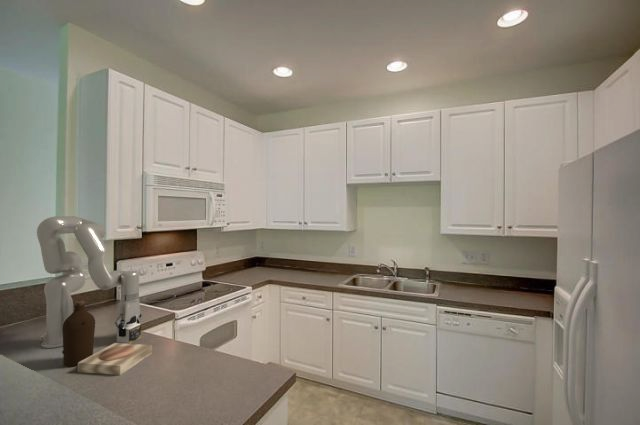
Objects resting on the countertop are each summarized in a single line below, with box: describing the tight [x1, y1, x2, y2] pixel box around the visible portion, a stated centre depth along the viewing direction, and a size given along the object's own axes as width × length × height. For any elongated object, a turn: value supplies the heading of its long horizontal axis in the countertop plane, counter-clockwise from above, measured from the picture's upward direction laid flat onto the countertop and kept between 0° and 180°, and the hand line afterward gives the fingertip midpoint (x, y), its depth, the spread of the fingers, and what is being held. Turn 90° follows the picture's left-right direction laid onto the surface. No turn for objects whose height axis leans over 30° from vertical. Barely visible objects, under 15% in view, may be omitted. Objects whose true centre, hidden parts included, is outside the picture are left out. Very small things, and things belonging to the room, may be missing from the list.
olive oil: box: [61, 299, 96, 368], centre depth 122 cm, size 11×11×25 cm
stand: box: [77, 342, 153, 376], centre depth 122 cm, size 18×18×4 cm
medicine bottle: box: [116, 316, 142, 344], centre depth 143 cm, size 7×7×12 cm
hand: (129, 332), depth 143 cm, fingers open, 8 cm apart
